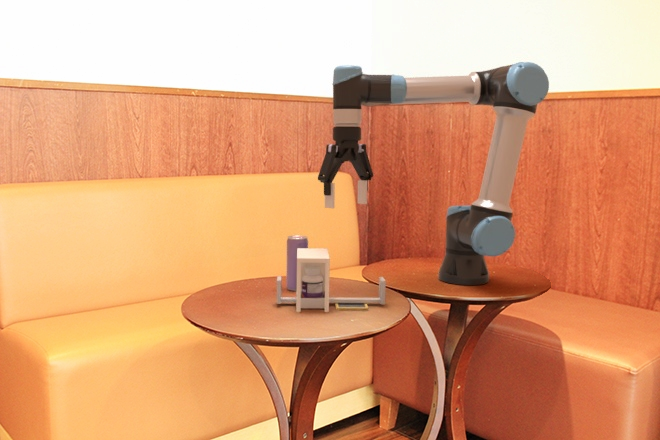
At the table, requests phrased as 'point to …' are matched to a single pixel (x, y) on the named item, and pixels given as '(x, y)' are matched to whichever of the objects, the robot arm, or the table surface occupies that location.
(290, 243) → the beverage can
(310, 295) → the pill bottle
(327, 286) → the tunnel
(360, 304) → the tray
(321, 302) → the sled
